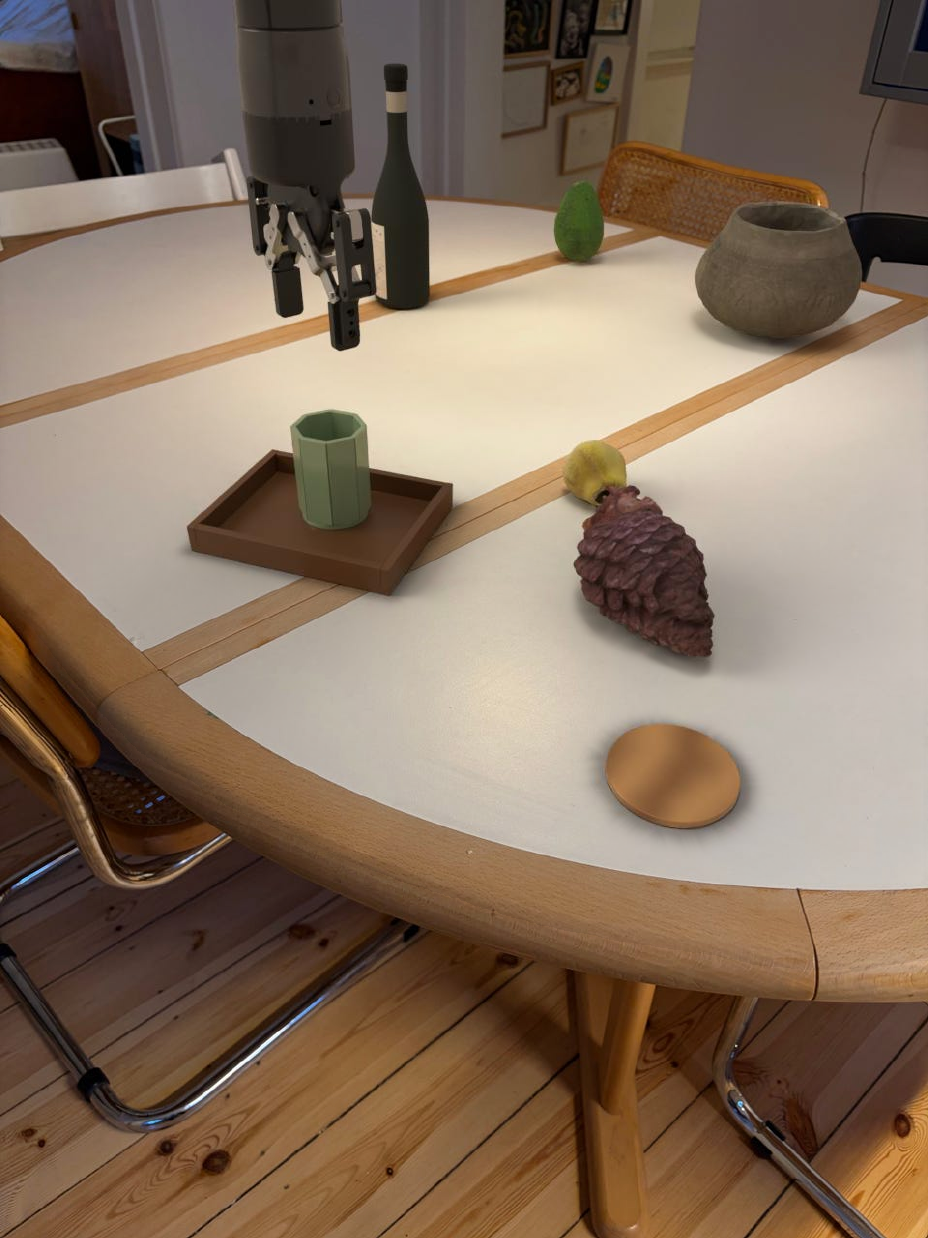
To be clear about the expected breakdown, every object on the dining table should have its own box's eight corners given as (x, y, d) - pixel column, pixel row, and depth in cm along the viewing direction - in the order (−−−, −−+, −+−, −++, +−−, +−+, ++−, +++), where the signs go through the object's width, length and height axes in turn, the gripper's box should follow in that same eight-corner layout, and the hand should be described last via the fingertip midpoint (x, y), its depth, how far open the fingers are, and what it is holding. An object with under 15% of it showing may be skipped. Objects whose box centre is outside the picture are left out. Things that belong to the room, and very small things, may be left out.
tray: (191, 550, 85) (186, 526, 83) (275, 471, 96) (272, 448, 95) (389, 595, 80) (388, 570, 78) (453, 506, 91) (453, 483, 90)
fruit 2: (595, 533, 88) (541, 473, 94) (641, 532, 91) (586, 474, 97) (621, 482, 84) (564, 423, 90) (668, 483, 88) (609, 426, 94)
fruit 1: (578, 250, 156) (585, 172, 149) (610, 262, 151) (619, 183, 144) (542, 258, 153) (546, 179, 145) (573, 271, 148) (580, 190, 140)
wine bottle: (371, 310, 133) (359, 68, 115) (378, 291, 139) (368, 59, 121) (427, 311, 133) (424, 69, 114) (432, 293, 139) (430, 60, 121)
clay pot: (830, 370, 118) (863, 248, 109) (668, 339, 126) (685, 223, 117) (858, 316, 134) (888, 205, 124) (711, 291, 141) (730, 185, 132)
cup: (289, 522, 88) (279, 435, 82) (320, 489, 92) (312, 405, 87) (352, 535, 86) (345, 447, 80) (380, 501, 91) (375, 416, 85)
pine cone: (762, 649, 74) (750, 596, 66) (654, 712, 76) (629, 668, 67) (652, 496, 84) (629, 433, 75) (557, 555, 85) (524, 498, 76)
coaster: (591, 806, 62) (592, 800, 61) (620, 717, 68) (621, 711, 68) (730, 844, 59) (731, 838, 59) (745, 748, 66) (747, 742, 66)
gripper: (200, 91, 67) (233, 315, 77) (301, 125, 58) (323, 372, 68) (292, 81, 70) (312, 296, 81) (400, 111, 62) (407, 348, 72)
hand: (317, 330), depth 74 cm, fingers open, 8 cm apart
